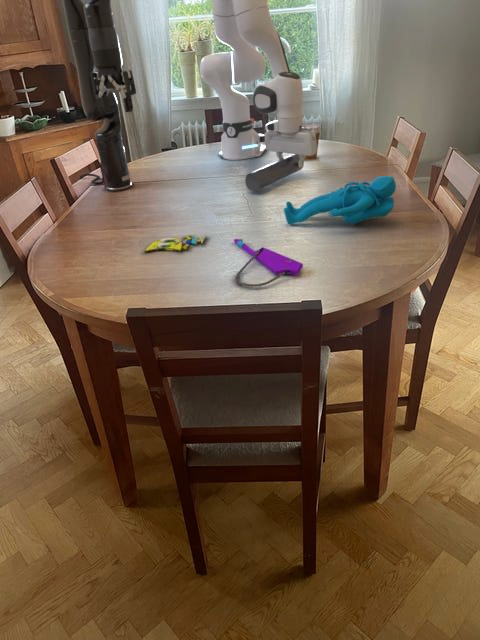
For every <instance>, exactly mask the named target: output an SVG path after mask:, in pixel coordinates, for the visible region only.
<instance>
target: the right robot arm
mask: <svg viewBox="0 0 480 640" xmlns="http://www.w3.org/2000/svg"><path fill="white" fill-rule="evenodd" d="M211 3H212V4H211V5H212V18H213V27H214V35H215V37H216V38H217V40H218V41H219V42H221V43H222V44H225V45H227V46H229V47H230V48H231V49H232V51H225V52H215V53H211V54H208V55H204V56H203V57H202V59H201V61H200V64H199V75H200V77H201V79H202V80H203V82H204V83H205V84H207V85H208V86H209V87H211V89H213V91H214V93H216V95H217V96H218V99H219V101H220V106H221V112H222V131H223V133H222V134H221V135H220V138H221V140H220V141H221V143H220V144H221V151H220V152H219V156H220V157H222V158H223V159H225V160H229V161H238V160H239V161H240V160H246V159H247V160H248V159H252V158H259V157H261V155H263V153H264V152H266V151H267V152H273V153H275V155H276V157H277V159H278V161H279V160H281V159H283V158H284V156H283V154H289V155H293V154H298V155H299V158H300V160H299V161H298V162H296V164H297V165H296V166H297V167H302V166H303V161H305V160H304V159H305V155H306V156H312V155H314V154H315V153H316V152H317V153H318V150H317V141H316V131H315V130H314V129H313V128H312V127H306V126H303V125H304V112H303V103H304V93H303V92H304V90H303V89H304V88H303V81H302V78H301V76H300V74H298V73H297V72H293V71H291V69H290V66H289V62H288V59H287V55H286V52H285V48H284V46H283V42H282V39H281V36H280V34H279V32H278V30H277V29H276V27H275V25H274V23H273V21H272V17H271V14H270V9H269V4H268V0H211ZM255 47H256V48H255ZM257 48H258V49H259V50H258V49H257ZM260 50H261V51H262V52H263V53H264V54H265V55H266V58H267V61H268V64H269V66H270V70H271V73H272V77H273V78H272V79H271V80H269V81H266V82H264V83H262V84H260V85H258V86H257V87H255V89H254V91H253V93H252V104H253V107H254V108H255V110H256V111H257V112H258V113H259V114H261V115H269V114H274V113H275V114H276V119H275V120H273V121H270V122H268V123H266V124H265V126H264V127H265V132H264V134H262V133H258V132H257V131H256V130H255V129H254V126H253V124H255V122H256V121H255V118H252V117H251V112H250V100H249V98H248V97H247V96H246V95H245V94H243V93H241V92H240V91H237V90H235V89H234V88H233V85H234V84H243V83H252V82H255V81H259V80H261V79H263V77H264V75H265V73H266V70H267V61H266V58H265V55H263V53H262V52H261V51H260ZM262 143H264V144H262ZM265 150H266V151H265ZM303 167H304V166H303Z"/></svg>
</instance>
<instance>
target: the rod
mask: <svg viewBox="0 0 480 640" xmlns="http://www.w3.org/2000/svg"><path fill="white" fill-rule="evenodd" d="M299 160H300V158H299V155H298V154H289V155H288V156H285V157H283V159H281V160H279V159H278V160H276V161H274V162H272V163H270V164H267V165H265V166H262V167H260V168H258V169H255V170H253V171H252V172H249V173H246V176H245V178H244V183H245V186H246V188H247V189H248V190H249V191H251V192H258V191H259V190H261V189H263V188H266V187H268V186H270V185H272V184H274V183H276V182H279V181H280V180H283V179H285V178H286V177H289V176H292V175H293V174H295V173H297V172H299V171H301V170H302V169H303V168H304V165H305V164H304V163H305V160H303V166H302V167H297V166H296V165H297V164H296V162H298V161H299Z"/></svg>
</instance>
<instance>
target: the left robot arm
mask: <svg viewBox="0 0 480 640" xmlns="http://www.w3.org/2000/svg"><path fill="white" fill-rule="evenodd" d="M61 2H62V6H63V11H64V16H65V21H66V22H65V23H66V27H67V32H68V36H69V41H70V45H71V48H72V49H71V50H72V54H73V58H74V62H75V66H76V67H75V68H76V73H77V80H78V87H79V94H80V100H81V106H82V110H83V112H84V114H85V116H86V118H87V119H88V120H89V121H90V122H99V121H103V124H102V126H101V127H99V129H97V130H96V131H95V132H94V139H95V143H96V147H97V153H98V156H99V160H100V162H99V163H98V164H99V168H100V173H101V176H100V175H99V174H95V173H84V174H83V173H82V174H81V175H80V176H79V180H81V179H83V178H84V177H94V178H93V179H92V180H91V181H90V183H91V184H93V185H102V184H103V185H104V189H106V190H107V191H111V192H120V191H124V190H127V189H130V188H132V187H133V184H132V179H131V175H130V170H129V169H130V168H129V165H128V160H127V155H126V149H125V144H124V141H123V134H122V131H123V128H122V121H121V114H120V109H119V108H120V107H119V103H118V99H117V97H116V95H115V93H114V91H112V90H116V91H117V92H119V93H120V94H121V96H122V101H123V106H124V111H125V113H132V112H133V110H134V106H133V105H134V104H133V99H132V96H134V95H136V94H137V89H136V83H135V80H134V75H133V71H132V70H131V69H128V70H123V68H122V66H123V64H124V63H123V57H122V52H121V47H120V42H119V41H120V40H119V36H118V32H117V30H116V25H115V20H114V15H113V9H112V0H88V1H85V2H84V1H83V0H61ZM96 69H97V70H96ZM95 70H96V71H95ZM111 89H112V90H111ZM101 177H102V178H101ZM99 180H101V181H99Z"/></svg>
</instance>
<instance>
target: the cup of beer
mask: <svg viewBox="0 0 480 640" xmlns="http://www.w3.org/2000/svg"><path fill="white" fill-rule="evenodd" d="M303 126H306V127H312V128H313V129H314V130H315V131H316V141H317V152H316V153H315V154H314V155H312V156H306V155H305V159H304V160H303V161H310V160H311V161H312V160H315V159H317V158H318V157H317V156H318V149H319V141H320V133H321V130H322V128H321V125H320V124H317V123H305V124H304V123H303Z"/></svg>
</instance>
